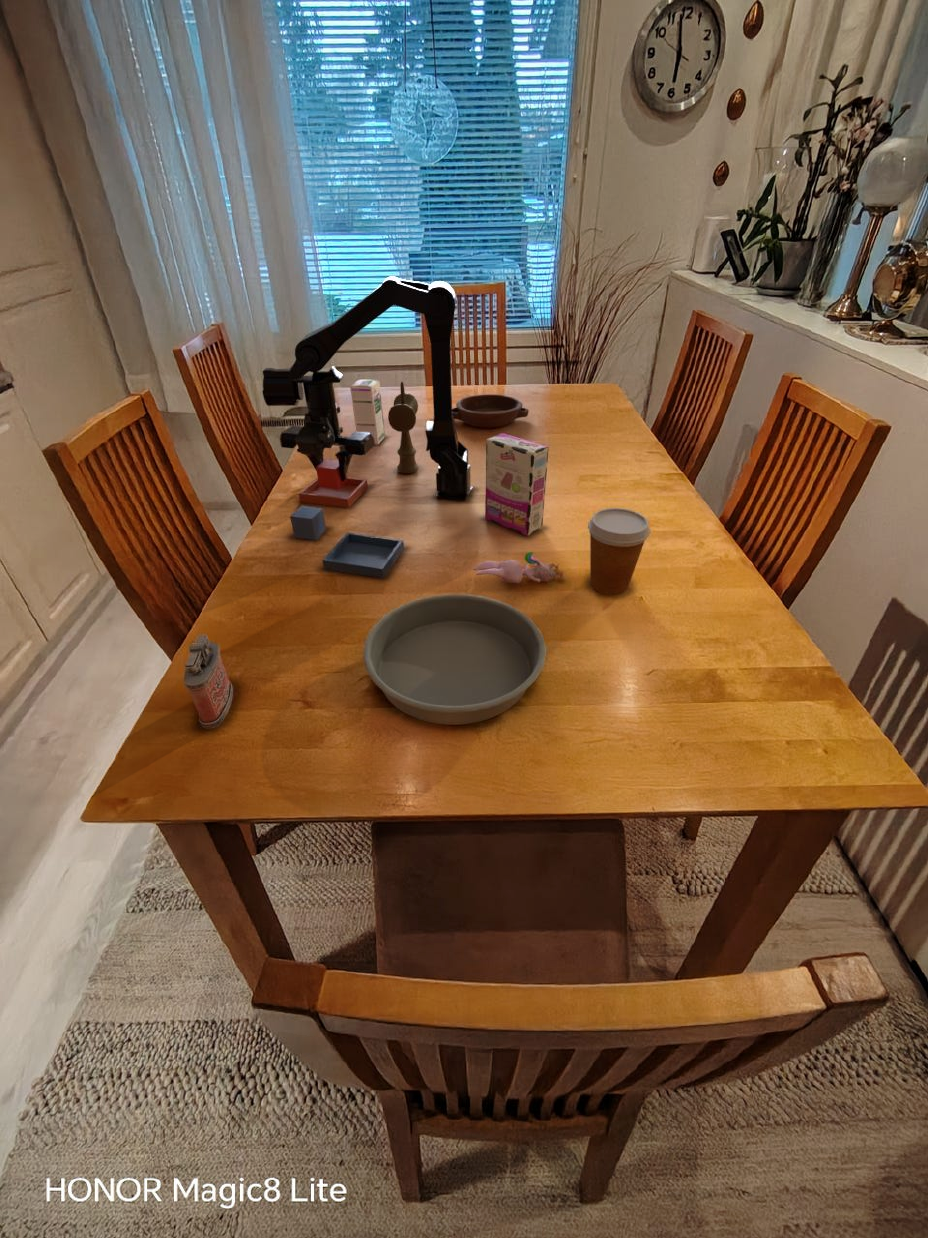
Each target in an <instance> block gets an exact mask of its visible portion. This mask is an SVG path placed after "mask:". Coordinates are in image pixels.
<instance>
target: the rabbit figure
mask: <svg viewBox="0 0 928 1238" xmlns="http://www.w3.org/2000/svg"><path fill="white" fill-rule="evenodd" d="M534 554H535V552H534V551H527V552H526V553H525V554H524V557H523V558H524V561H525V562H526V564H524V566H522V564H521V563H520V562H519V561H517V560H515V559H505V560H503V561H502V560H501V561H495V560H485V561H482V562H480V563H478V564H477V565H476V566H474V568H473V571H478V572H475V575H476V576H481V575H491V576H495V577H499V578H500V579H502V581H504V582H506V583H510V584H511V583H512V584H516V585H518V584H520V583H522V580H523V577H526V578H527V579H531V580H532V581H535V582H537V583H540V582H541V581H542V582H545V583H549V582H552V581H553V580H554V578H555V577H556V576H557V575H559V581H562V580H563V576H564V574H563V573H564V571H561V572H560V571H559V565H560V563H558V564H555V563H554V562H553V563H550V564H547V563H546V562H541V561H540V559H538V558H537V557H534V556H533V555H534ZM531 565H534V567H529V566H531ZM553 568H555V569H554V571H553V570H552V569H553Z"/></svg>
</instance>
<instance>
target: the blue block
mask: <svg viewBox="0 0 928 1238" xmlns="http://www.w3.org/2000/svg"><path fill="white" fill-rule="evenodd" d="M289 518H290V519H289V520H290V523H291V528H292V532H293V538H294V539H295V538H296V539H301V540H302V539H303V540H308V541H309V540H311V541H317V540H318V538H320V536H321V535H322V534H323V533H324V532H325V531H326V530H327V526H326V520H325V513H324V508H322V507H314V506H306V505H301V506H299V507H298V508H297V509H296V510H295V511H294V512H293V513H292V514H291V515H290V516H289Z"/></svg>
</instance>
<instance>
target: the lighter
mask: <svg viewBox="0 0 928 1238" xmlns="http://www.w3.org/2000/svg"><path fill="white" fill-rule="evenodd" d="M184 668H185V670H184V674H183V684H184V686H185V688H186V689H187V690H188V692H189V694H190V696H191V699H192V701H193V704H194V707H195V710H196V711H197V713H198V716H199V717H198V721H199V723H200V725H201V727H202V728H204V729H208V730H209V729H214V728H217V727H219V726H220V725H221V724H222V723H223V721H224V720H225V718H226V716H227V715H228V712H229V710H230V708H231V705H232V702H233V697H234V687H233V684H232V682H231V681H230V680H229V677H228V674H227V671H226V668H225V665H224V662H223V659H222V656H221V649H220V646H219V644H218V642H215V641H210V639H209V637H208V635H206V634H200V635H197V637H196V639H195V642H193V643H190V645H189V655H188V657H187V660H186V661H185V664H184Z"/></svg>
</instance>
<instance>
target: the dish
mask: <svg viewBox="0 0 928 1238" xmlns="http://www.w3.org/2000/svg"><path fill="white" fill-rule="evenodd" d="M455 406H456V407H452V413H453V418H454V420H458V421H462V422H463V423H465V424H467V425H469V426H472V427H476V428H484V429H485V428H486V429H487V428H489V429H490V428H492V429H493V428H499V427H504V426H507V425H509V424H511V423H513V422H514V421H515V420H518V419H521V418H527V417H528V416H529V412H530V411H529V409H528V408H527V407H524V404H523V402H522V401H521V400H519V399H517V398H515V397H512V396H509V395H504V394H496V393H494V394H493V393H492V394H491V393H489V394H487V393H486V394H485V393H484V394H474V395H469V396H465V397H462V398H461V399H459V400H457V402H456V403H455Z"/></svg>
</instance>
